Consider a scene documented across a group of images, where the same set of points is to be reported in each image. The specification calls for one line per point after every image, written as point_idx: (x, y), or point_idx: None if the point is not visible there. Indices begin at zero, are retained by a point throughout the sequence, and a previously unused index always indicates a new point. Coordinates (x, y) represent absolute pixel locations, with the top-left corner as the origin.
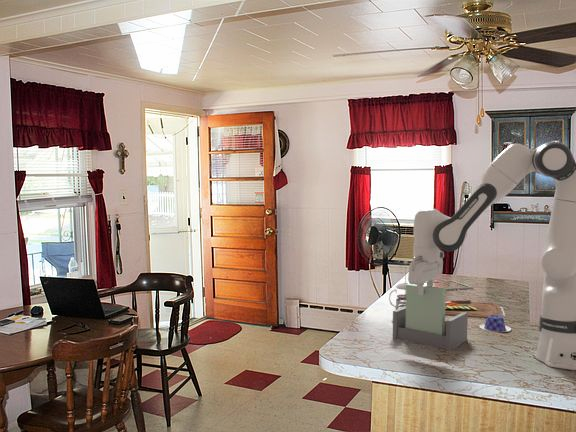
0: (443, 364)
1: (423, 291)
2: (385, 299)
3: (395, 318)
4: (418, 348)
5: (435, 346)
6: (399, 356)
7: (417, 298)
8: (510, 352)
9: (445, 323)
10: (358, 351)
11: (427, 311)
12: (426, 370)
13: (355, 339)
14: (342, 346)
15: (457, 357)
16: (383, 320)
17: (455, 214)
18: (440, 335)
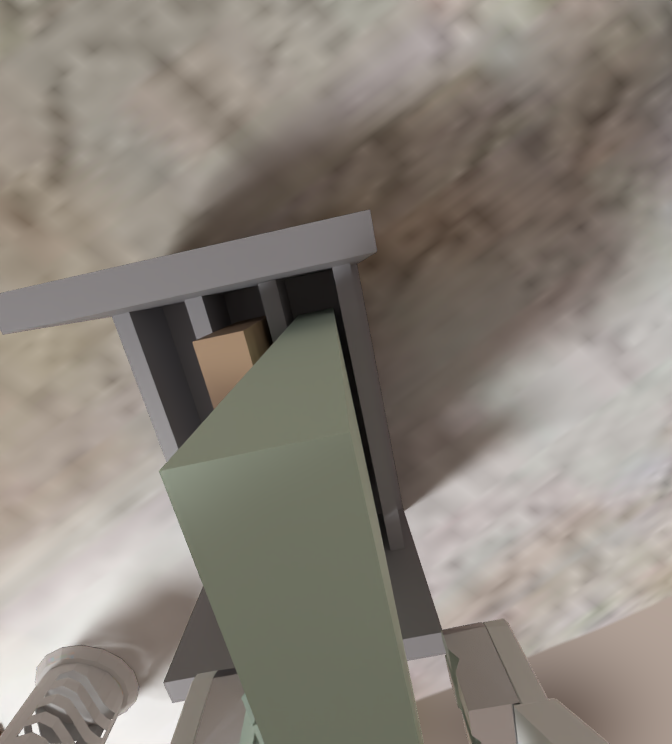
0: (506, 166)
1: (519, 670)
2: None
3: (429, 595)
4: (390, 392)
5: (362, 324)
6: (547, 372)
7: (402, 644)
8: (50, 30)
9: (253, 348)
10: (605, 512)
11: (365, 466)
12: (637, 166)
13: (485, 612)
14: (594, 583)
15: (363, 186)
16: None
17: None
18: (350, 311)
